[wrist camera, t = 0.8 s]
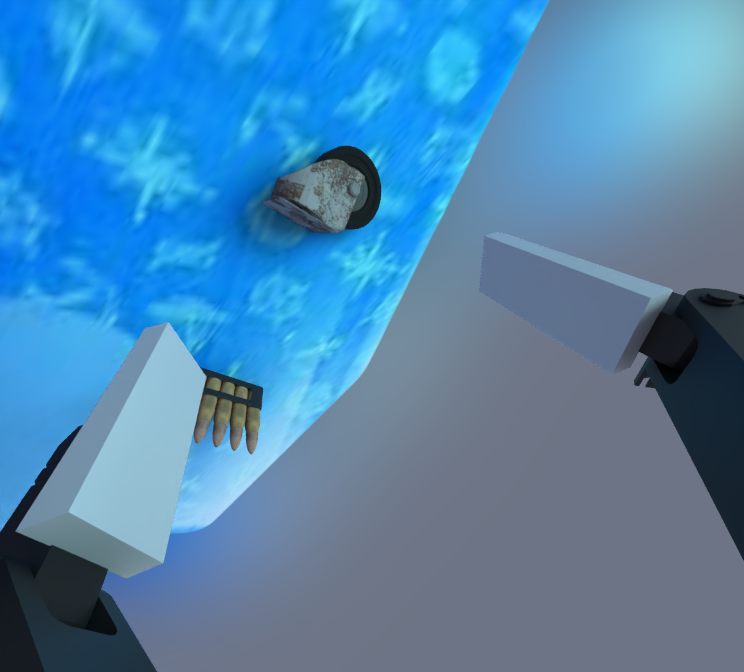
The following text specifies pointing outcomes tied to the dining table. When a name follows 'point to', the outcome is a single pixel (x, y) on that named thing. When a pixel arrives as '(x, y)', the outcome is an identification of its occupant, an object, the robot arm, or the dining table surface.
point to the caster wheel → (330, 192)
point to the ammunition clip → (229, 410)
